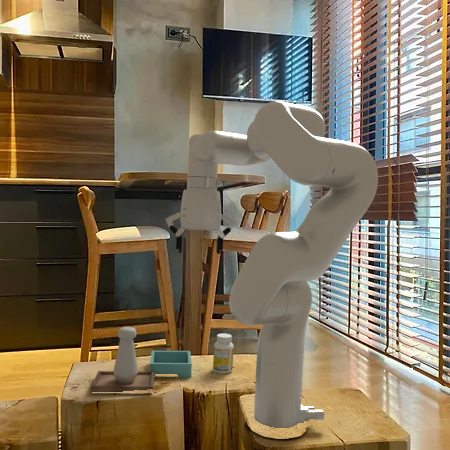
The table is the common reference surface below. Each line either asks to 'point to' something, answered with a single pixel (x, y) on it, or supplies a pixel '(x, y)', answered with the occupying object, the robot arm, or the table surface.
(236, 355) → the table surface
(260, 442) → the table surface
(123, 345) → the salt shaker
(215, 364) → the supplement bottle
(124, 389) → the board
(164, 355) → the collar
